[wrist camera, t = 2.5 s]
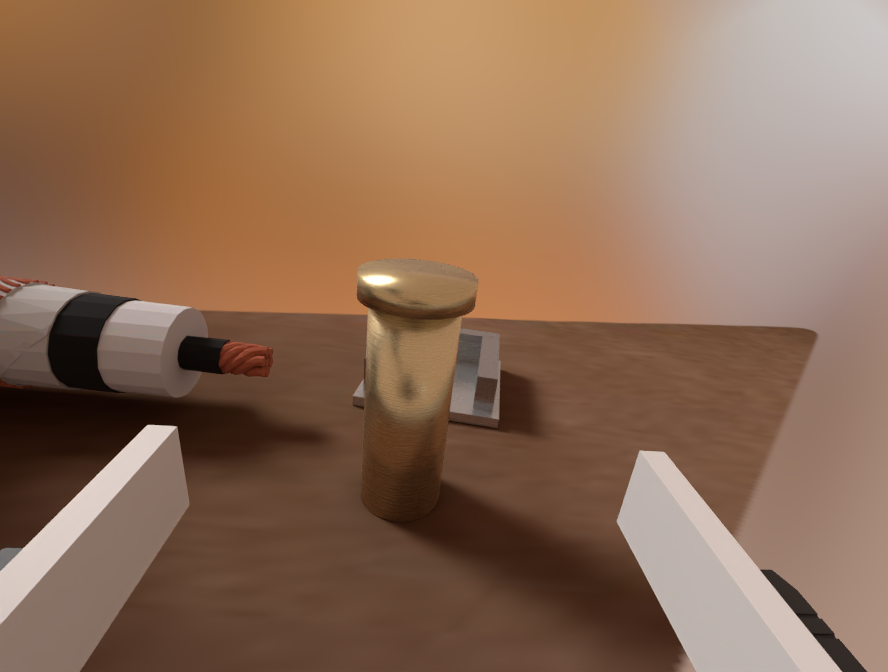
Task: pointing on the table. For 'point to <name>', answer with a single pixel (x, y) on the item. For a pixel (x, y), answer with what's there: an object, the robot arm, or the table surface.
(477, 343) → the keeper bracket
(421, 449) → the end pin
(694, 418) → the table surface
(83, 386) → the cable
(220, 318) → the table surface
